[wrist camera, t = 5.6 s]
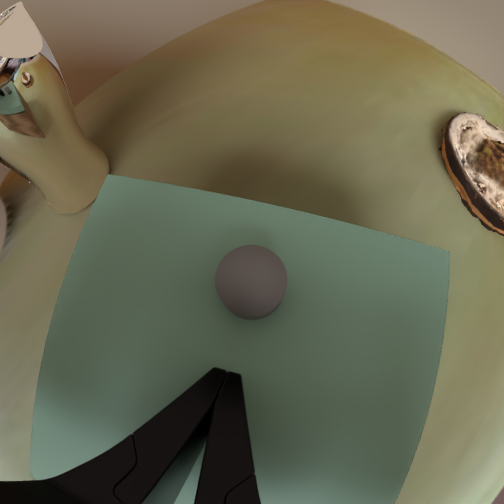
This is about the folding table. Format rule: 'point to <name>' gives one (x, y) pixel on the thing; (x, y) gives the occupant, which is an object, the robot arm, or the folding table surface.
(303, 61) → the folding table surface
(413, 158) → the folding table surface
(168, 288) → the lid
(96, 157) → the beer glass
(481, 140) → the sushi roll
